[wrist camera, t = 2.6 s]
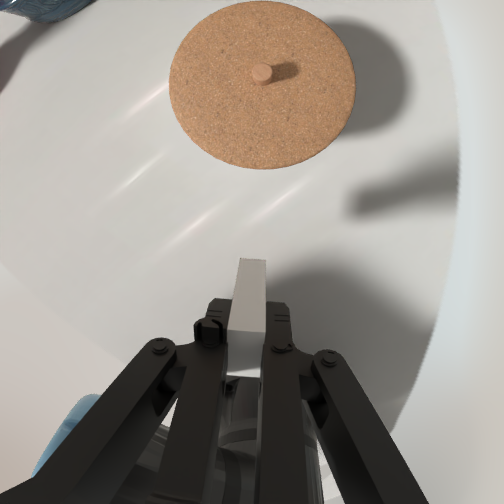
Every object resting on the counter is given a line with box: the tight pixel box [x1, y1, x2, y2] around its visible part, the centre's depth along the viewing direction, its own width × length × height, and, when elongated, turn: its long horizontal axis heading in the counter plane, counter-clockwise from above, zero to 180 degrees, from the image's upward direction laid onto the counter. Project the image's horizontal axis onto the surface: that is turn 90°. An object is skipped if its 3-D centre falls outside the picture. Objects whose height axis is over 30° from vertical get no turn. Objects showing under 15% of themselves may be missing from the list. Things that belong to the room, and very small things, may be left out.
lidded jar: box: [169, 1, 356, 169], centre depth 16 cm, size 11×11×9 cm
